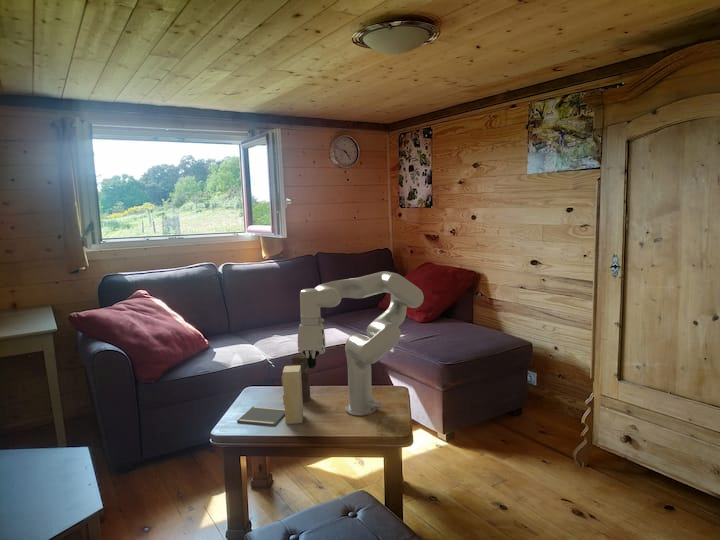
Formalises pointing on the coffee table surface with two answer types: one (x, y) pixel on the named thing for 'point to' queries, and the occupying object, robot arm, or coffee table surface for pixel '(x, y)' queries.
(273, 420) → the mat
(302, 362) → the brown rounded cylinder
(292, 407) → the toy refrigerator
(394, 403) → the coffee table surface
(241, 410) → the coffee table surface
